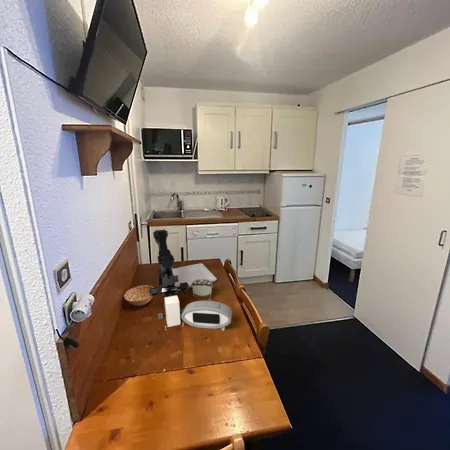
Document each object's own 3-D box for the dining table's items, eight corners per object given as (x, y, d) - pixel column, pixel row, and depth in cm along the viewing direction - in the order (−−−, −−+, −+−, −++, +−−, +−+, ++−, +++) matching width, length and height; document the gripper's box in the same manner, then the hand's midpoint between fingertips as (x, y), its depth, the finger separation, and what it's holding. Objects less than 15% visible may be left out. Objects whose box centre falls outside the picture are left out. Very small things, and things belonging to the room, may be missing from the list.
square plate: (164, 275, 171) (164, 270, 170) (202, 267, 182) (202, 262, 181) (175, 294, 147) (174, 288, 146) (217, 284, 159) (217, 278, 158)
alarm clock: (181, 329, 118) (180, 305, 114) (185, 320, 124) (184, 297, 120) (231, 332, 115) (231, 308, 112) (232, 323, 121) (232, 300, 118)
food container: (214, 294, 147) (214, 278, 144) (213, 300, 141) (212, 284, 138) (194, 293, 148) (193, 277, 145) (191, 298, 142) (190, 283, 139)
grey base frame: (156, 305, 136) (156, 300, 135) (181, 301, 140) (180, 296, 139) (160, 337, 112) (160, 332, 111) (190, 331, 116) (190, 325, 115)
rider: (166, 320, 122) (164, 297, 119) (178, 318, 124) (177, 295, 121) (167, 328, 117) (165, 304, 113) (180, 325, 119) (179, 301, 115)
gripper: (147, 273, 119) (151, 306, 112) (187, 267, 125) (192, 298, 118) (148, 280, 129) (151, 311, 121) (185, 275, 134) (190, 304, 127)
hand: (171, 306), depth 122 cm, fingers closed, pressing on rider
